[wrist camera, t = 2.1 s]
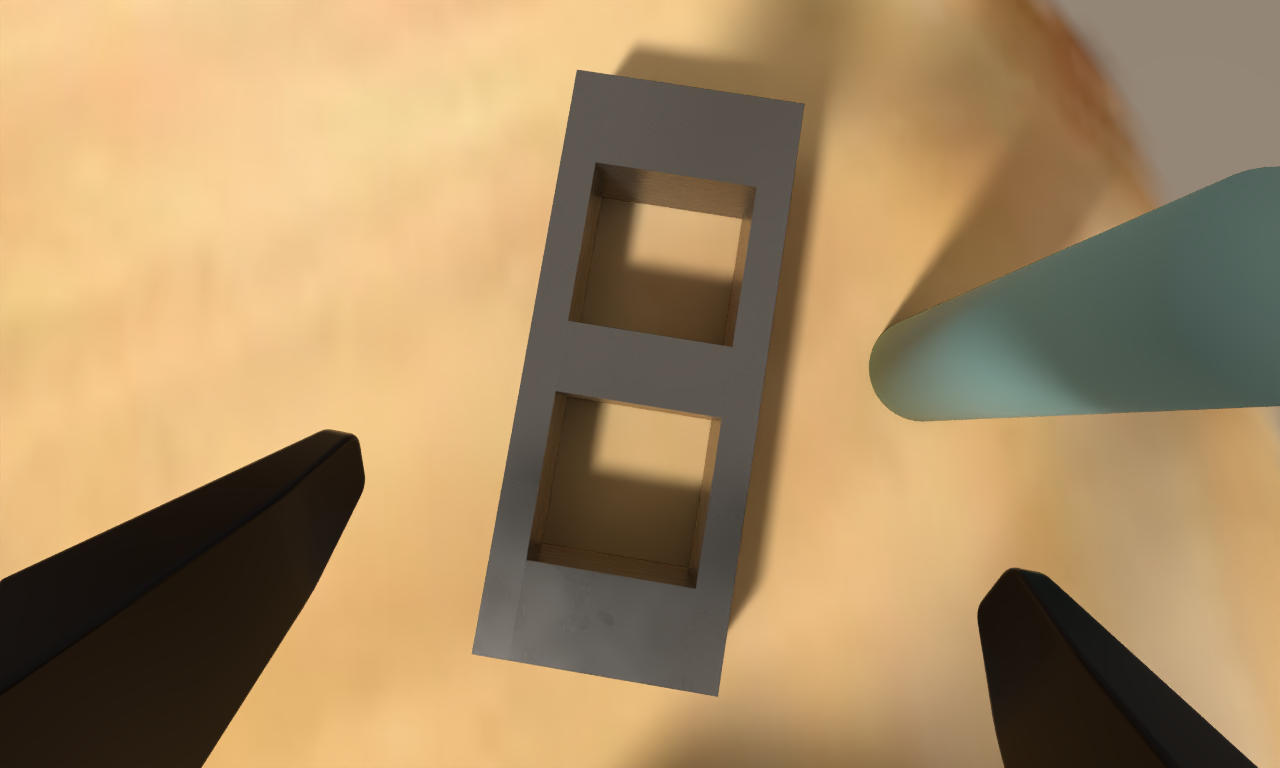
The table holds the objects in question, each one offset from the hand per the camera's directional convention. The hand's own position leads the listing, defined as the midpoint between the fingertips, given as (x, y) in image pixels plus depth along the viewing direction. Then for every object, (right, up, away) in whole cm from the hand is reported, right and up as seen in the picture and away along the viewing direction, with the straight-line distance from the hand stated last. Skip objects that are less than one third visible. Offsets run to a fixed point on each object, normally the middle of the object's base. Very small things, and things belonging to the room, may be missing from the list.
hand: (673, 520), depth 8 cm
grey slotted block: (0, +2, +15) cm, 15 cm away
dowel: (+10, +2, +15) cm, 18 cm away
